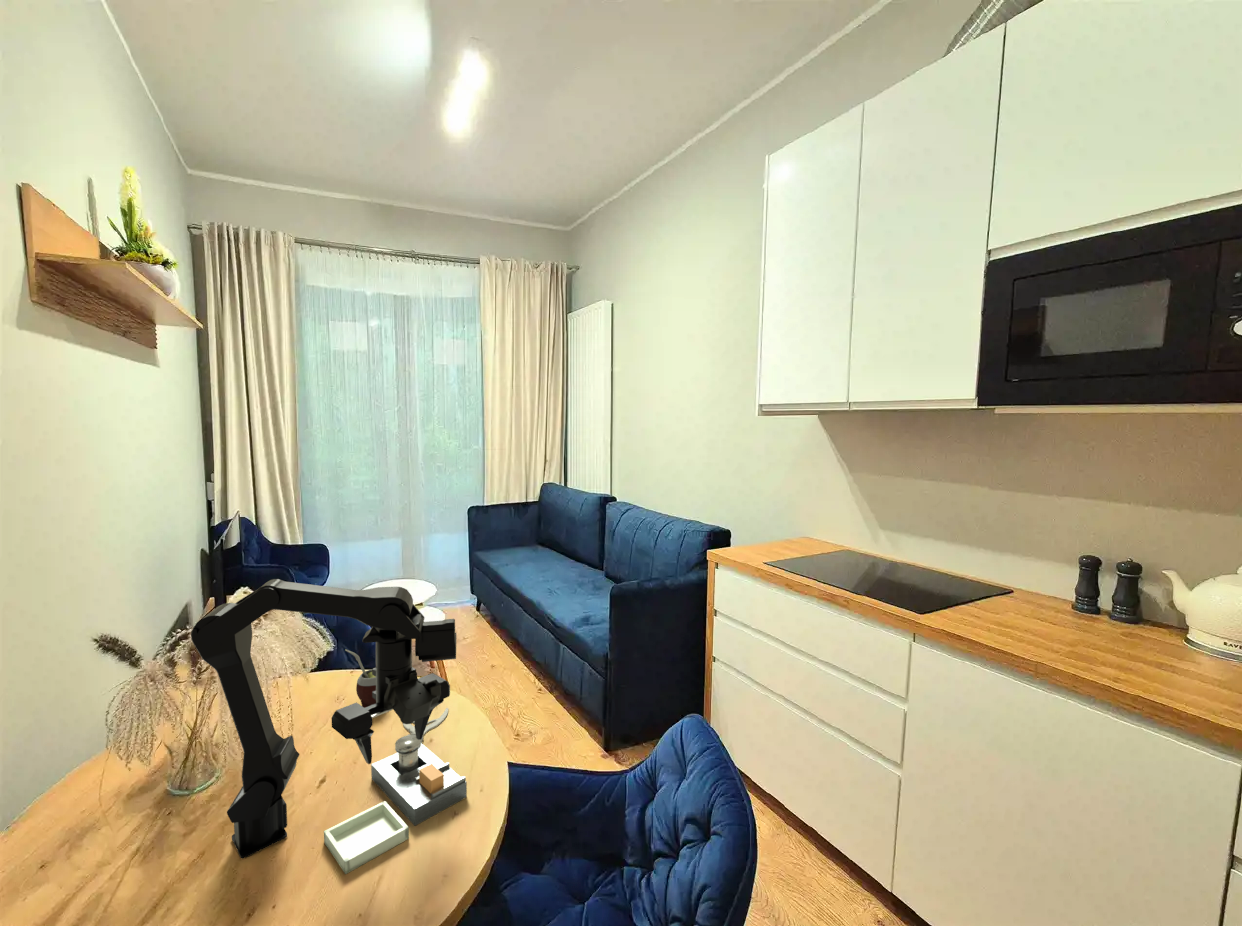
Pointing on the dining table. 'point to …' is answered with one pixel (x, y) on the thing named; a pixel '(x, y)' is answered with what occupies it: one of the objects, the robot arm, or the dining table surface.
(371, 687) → the mate gourd
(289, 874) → the dining table surface
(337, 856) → the tray
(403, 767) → the pin
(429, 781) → the block
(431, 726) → the pliers
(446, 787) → the metallic box with opening
